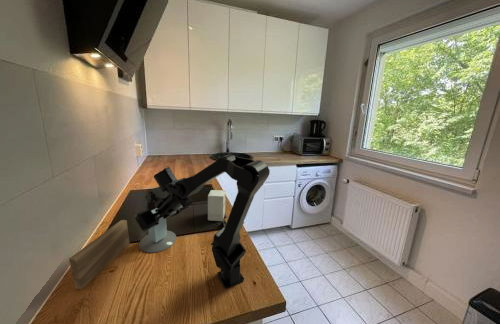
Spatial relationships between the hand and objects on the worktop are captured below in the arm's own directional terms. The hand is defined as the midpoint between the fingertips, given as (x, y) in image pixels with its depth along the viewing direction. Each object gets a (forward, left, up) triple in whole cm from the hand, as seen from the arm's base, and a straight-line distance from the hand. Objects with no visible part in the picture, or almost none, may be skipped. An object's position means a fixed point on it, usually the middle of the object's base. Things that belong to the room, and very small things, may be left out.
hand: (154, 220), depth 77 cm
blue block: (-1, -1, -7) cm, 7 cm away
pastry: (-4, -31, -9) cm, 33 cm away
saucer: (-1, -1, -8) cm, 9 cm away
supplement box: (+6, -28, -9) cm, 30 cm away
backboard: (-5, +16, -8) cm, 19 cm away
